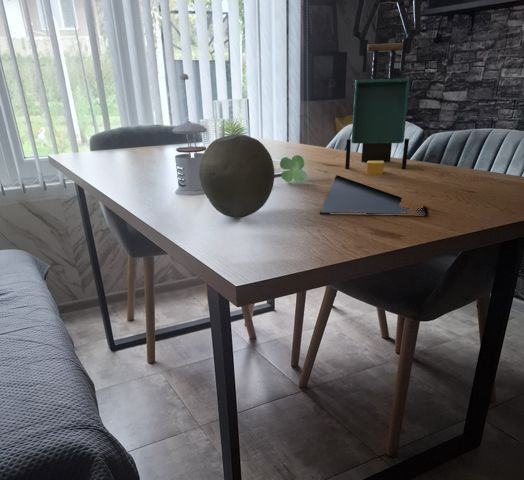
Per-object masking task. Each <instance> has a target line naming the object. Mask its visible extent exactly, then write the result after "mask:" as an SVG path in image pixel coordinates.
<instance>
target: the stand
mask: <svg viewBox="0 0 524 480" xmlns="http://www.w3.org/2000/svg"><path fill="white" fill-rule="evenodd" d="M409 143H410V138H407V137H406V138H405V137H404V142H403V153H402V159H401V160H402V161H401V170H406V169H407V162H408V152H409ZM351 144H352V138H347V139H346V146H345V148H346V149H345V165H344V166H345V167H344V169H345V170H349V169H350V165H351V164H350V163H351V149H352V147H351ZM392 148H393V143H362V147H361V163H368V161H384V163H390V162H391V156H392Z"/></svg>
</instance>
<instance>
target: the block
mask: <svg viewBox="0 0 524 480" xmlns="http://www.w3.org/2000/svg"><path fill="white" fill-rule="evenodd" d="M384 166H385V162H384V161H368V162H366V175H384Z"/></svg>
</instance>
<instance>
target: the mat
mask: <svg viewBox="0 0 524 480" xmlns="http://www.w3.org/2000/svg"><path fill="white" fill-rule="evenodd" d="M401 197H402V196H398V195H396V194H394V193H393V194H392V193H390V192H387V191H385V190H382V189H378V188H376V187H372V186H369V185H366V184H364V183H362V182H358V181H356V180H353V179H349V178H347V177H344V176H341V175H338V174H336V176H335V177H334V180H333V182H332V184H331V187H330V188H329V191H328V193H327V195H326V197H325V200H324V202H323V204H322V207H321V209H320V211H319V215H331V214H330V213H355V212H356V213H366V214H401V213H402V212H404V211H405V214H408V213H409V212H407V211H408V210H409V208H406V209H405V207H403V209H402V208H401V206H399V205H400V204H399V203H400V202H401V199H402V198H403V197H402V198H401ZM418 209H419V208H418ZM418 209H417V210H416V212H417V211H418V212H417V213H418V214H419V215H420V214H422V215H426V216H427V214H426V211H425V207H424V206H423V208H421V209H422V210H421V209H420V210H418ZM350 210H351V211H352V212H351V211H350ZM401 211H402V212H401ZM414 211H415V210H414ZM420 211H421V212H420ZM419 212H420V213H419ZM402 214H404V213H402Z"/></svg>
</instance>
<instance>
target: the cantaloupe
mask: <svg viewBox="0 0 524 480" xmlns="http://www.w3.org/2000/svg"><path fill="white" fill-rule="evenodd" d="M203 153H204V154H203V156H202V158H201V162H200V166H199V177H200V182H201V185H202V188H203V190H204V192H205V194H204V195H205V196H206V198H207V199H208V201H209V203H210V204H211V205H212V207H213V208H214V209H215V210H216V211H217V212H218V213H220V214H222V215H223V216H226V217H228V218H233V219H242V218H245V217H248V216H250V215H251V216H252V215H253V214H254V213H255V214H256V213H257V212H258V211H259V210H260V209H262V208H263V207H264V205H266V203H267V202H268V200H269V198H270V196H271V194H272V190H273V188H274V182H275V166H274V161H273V158H272V156H271V153H270V152H269V150H268V149H267V147H266V146H265V145H264V144H263V143H262V142H261V140H259V139H256V138H255V137H252V136H249V135H247V134H242V133H241V134H240V133H239V134H238V133H235V134H229V135H226V136H222V137H218V138H217V139H214V140H213V141H211V142H210V143H209V145H208V146H207V147H206V150H204V151H203Z"/></svg>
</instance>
